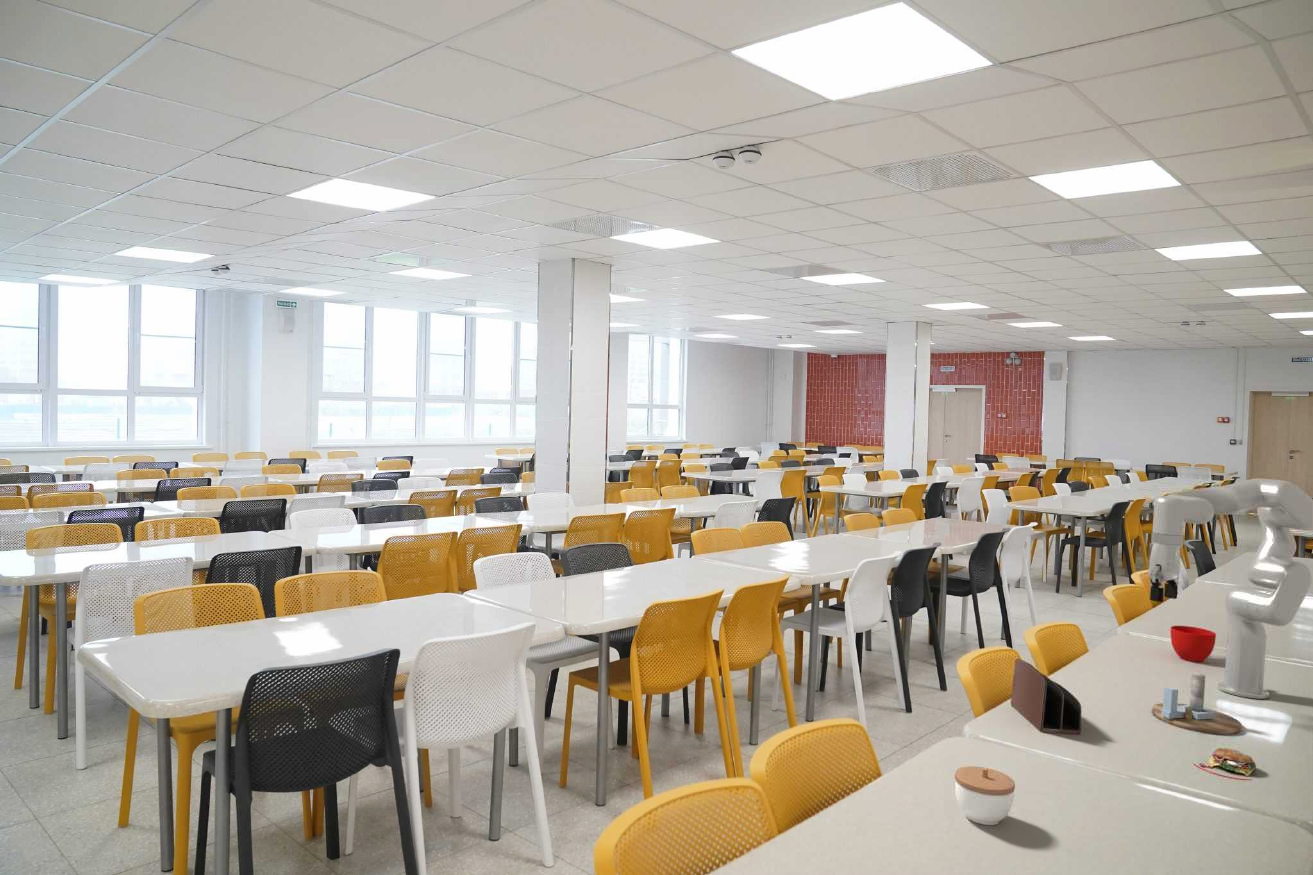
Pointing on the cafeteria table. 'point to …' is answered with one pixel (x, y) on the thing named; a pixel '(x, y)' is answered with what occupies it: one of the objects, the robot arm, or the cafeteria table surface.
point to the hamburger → (1230, 762)
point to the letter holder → (1044, 701)
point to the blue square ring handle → (1180, 707)
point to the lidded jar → (984, 794)
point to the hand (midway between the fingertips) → (1163, 599)
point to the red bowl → (1192, 642)
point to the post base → (1203, 724)
